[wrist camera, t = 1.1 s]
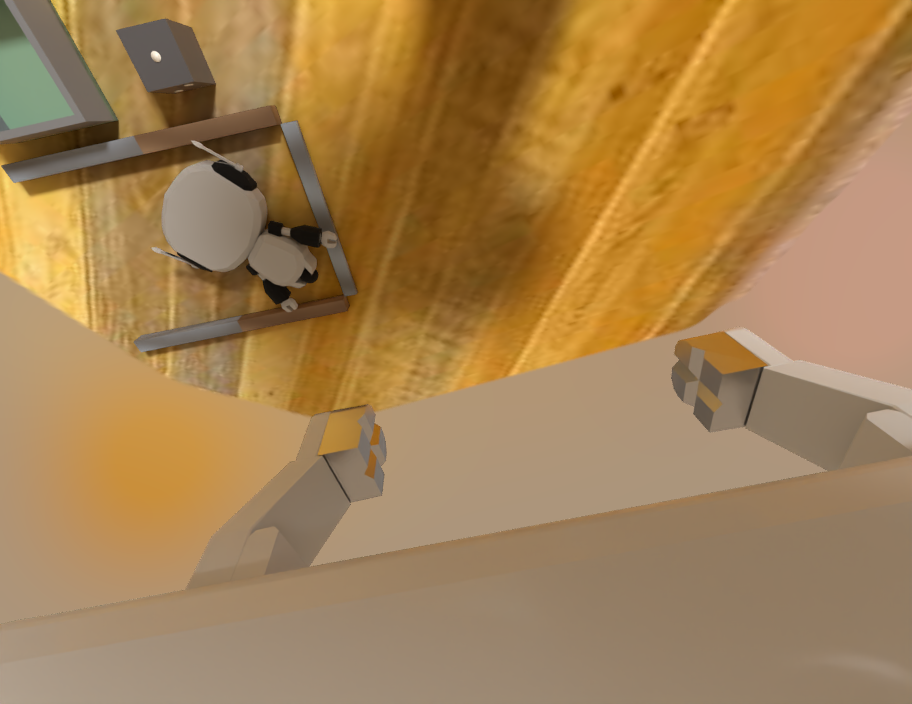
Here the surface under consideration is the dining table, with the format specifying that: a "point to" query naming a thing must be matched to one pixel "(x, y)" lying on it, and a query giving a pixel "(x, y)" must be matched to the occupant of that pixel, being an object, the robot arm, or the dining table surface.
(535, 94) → the dining table surface
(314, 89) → the dining table surface
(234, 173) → the robot toy
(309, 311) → the track
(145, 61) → the die
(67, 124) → the tray
